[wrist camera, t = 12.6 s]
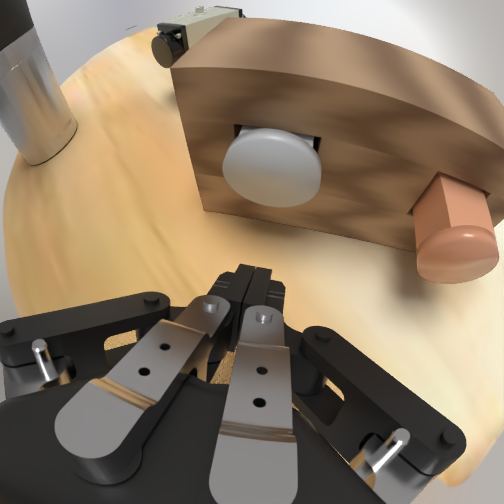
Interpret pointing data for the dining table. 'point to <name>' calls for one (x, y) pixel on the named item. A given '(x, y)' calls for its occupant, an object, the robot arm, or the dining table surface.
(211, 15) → the pneumatic valve
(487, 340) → the dining table surface
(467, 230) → the terracotta plug
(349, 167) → the socket block
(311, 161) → the grey plug
